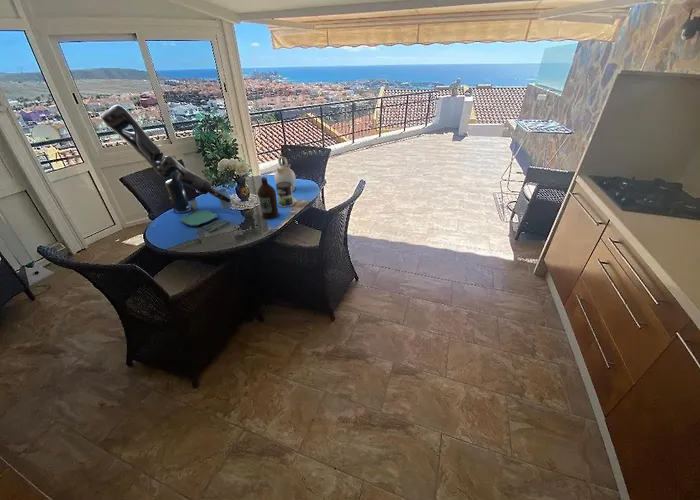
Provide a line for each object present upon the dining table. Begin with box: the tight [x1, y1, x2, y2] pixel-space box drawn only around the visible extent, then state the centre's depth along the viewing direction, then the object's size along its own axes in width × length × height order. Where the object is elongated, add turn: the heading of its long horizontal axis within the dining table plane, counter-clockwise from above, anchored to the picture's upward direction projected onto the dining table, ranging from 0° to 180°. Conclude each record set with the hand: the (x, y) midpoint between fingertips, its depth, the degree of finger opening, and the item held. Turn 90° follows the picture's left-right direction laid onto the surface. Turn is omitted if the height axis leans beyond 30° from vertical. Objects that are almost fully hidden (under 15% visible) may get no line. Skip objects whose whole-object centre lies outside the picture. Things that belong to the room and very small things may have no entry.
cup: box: [217, 187, 233, 210], centre depth 166 cm, size 6×6×10 cm
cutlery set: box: [180, 209, 230, 233], centre depth 180 cm, size 20×30×2 cm, turn 53°
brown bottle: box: [257, 176, 279, 220], centre depth 179 cm, size 11×11×25 cm
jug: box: [274, 155, 297, 192], centre depth 216 cm, size 15×16×25 cm
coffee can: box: [275, 182, 295, 208], centre depth 197 cm, size 10×10×14 cm
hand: (227, 199), depth 167 cm, fingers closed on cup, 6 cm apart
